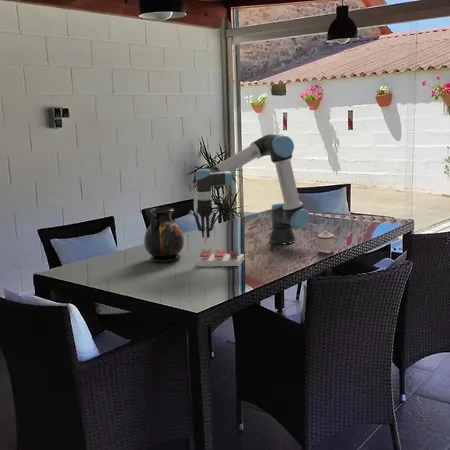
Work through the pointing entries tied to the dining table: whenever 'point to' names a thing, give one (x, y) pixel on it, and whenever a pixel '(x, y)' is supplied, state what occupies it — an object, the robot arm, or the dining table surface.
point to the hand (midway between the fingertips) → (206, 243)
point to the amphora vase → (163, 237)
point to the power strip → (220, 261)
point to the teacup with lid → (325, 241)
